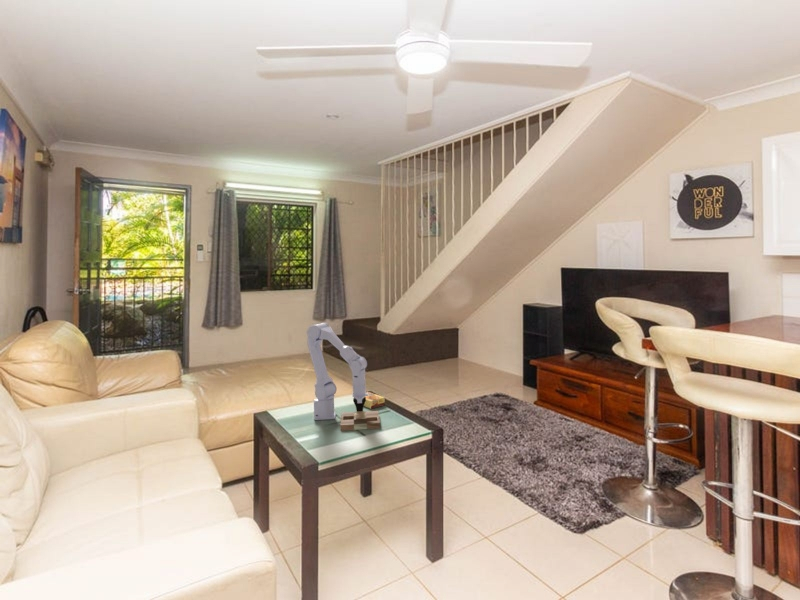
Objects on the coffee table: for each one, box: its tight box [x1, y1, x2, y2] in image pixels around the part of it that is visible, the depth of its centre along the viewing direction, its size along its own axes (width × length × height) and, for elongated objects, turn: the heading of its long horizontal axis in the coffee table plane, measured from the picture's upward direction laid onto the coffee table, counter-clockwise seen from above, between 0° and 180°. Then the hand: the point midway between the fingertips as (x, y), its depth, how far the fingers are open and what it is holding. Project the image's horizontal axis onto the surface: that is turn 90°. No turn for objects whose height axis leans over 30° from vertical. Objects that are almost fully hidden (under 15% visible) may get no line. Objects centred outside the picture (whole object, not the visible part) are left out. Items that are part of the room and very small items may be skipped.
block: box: [354, 410, 365, 419], centre depth 186 cm, size 4×4×4 cm
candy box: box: [364, 390, 386, 409], centre depth 218 cm, size 9×4×15 cm
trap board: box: [340, 410, 381, 431], centre depth 191 cm, size 16×17×4 cm
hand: (359, 414), depth 193 cm, fingers closed
